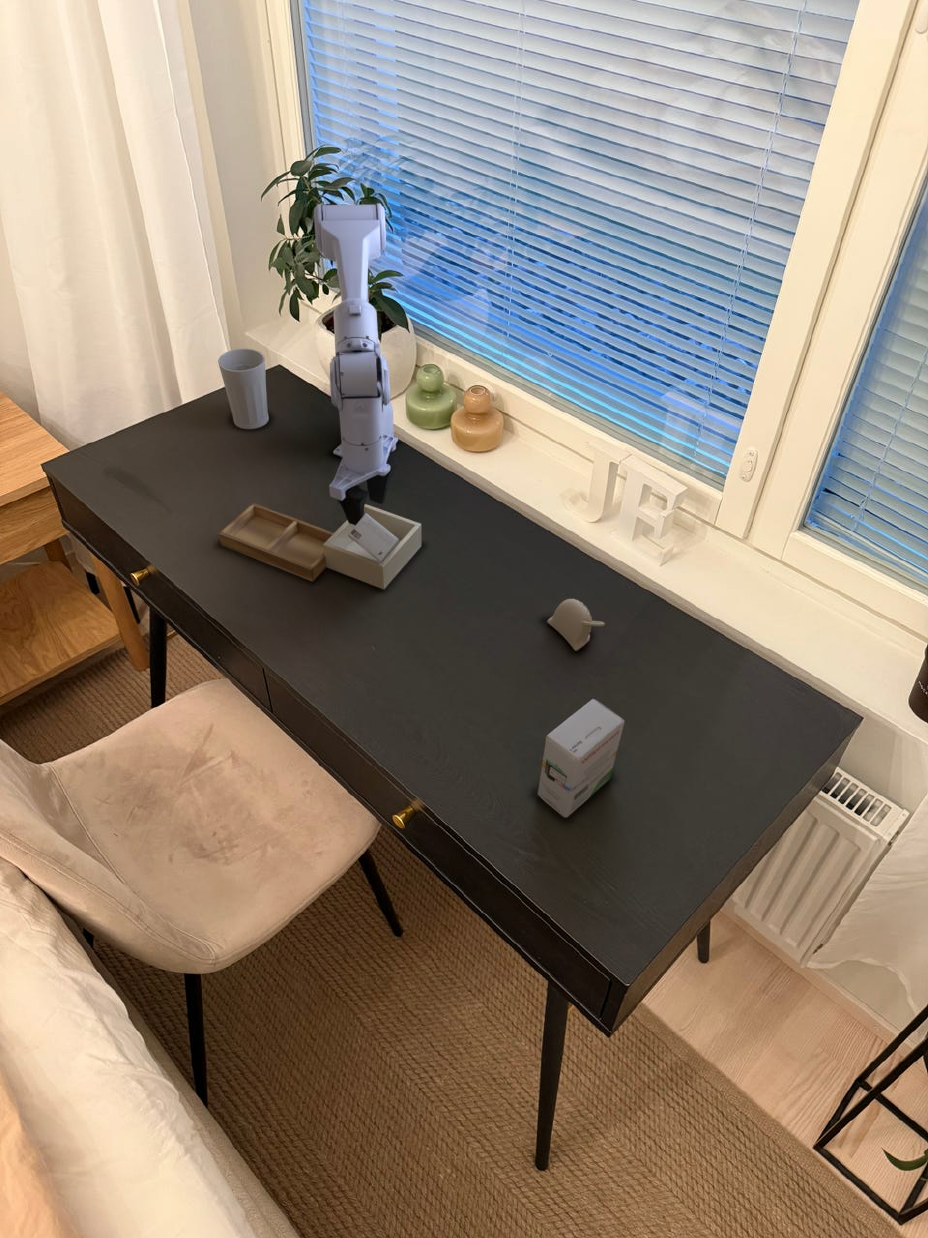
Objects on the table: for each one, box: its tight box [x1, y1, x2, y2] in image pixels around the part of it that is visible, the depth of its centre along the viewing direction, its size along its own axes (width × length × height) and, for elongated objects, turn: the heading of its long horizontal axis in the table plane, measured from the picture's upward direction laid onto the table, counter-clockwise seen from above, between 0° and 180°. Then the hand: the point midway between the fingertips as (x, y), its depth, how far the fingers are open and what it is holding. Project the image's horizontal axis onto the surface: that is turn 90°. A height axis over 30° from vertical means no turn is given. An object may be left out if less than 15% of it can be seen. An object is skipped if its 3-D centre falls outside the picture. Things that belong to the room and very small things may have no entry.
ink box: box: [537, 698, 626, 819], centre depth 105 cm, size 8×5×12 cm, turn 134°
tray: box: [218, 502, 335, 583], centre depth 138 cm, size 9×17×2 cm, turn 63°
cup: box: [217, 348, 270, 430], centre depth 159 cm, size 8×8×12 cm
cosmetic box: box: [348, 513, 399, 562], centre depth 129 cm, size 6×4×12 cm
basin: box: [323, 503, 422, 590], centre depth 136 cm, size 11×10×4 cm
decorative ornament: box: [546, 598, 606, 652], centre depth 125 cm, size 4×8×5 cm, turn 32°
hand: (366, 512), depth 132 cm, fingers open, 5 cm apart
